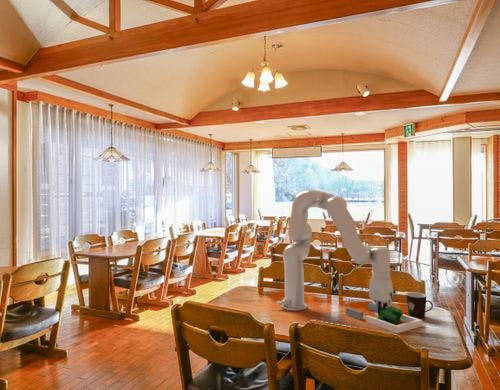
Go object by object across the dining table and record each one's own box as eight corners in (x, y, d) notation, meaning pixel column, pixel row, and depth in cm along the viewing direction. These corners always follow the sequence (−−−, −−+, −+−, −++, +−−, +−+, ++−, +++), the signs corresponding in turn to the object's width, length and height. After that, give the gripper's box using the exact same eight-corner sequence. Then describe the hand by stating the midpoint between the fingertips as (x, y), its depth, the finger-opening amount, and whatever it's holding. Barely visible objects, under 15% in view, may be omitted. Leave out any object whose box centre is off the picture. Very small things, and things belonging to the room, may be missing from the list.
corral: (397, 333, 146) (397, 327, 146) (366, 321, 160) (366, 316, 160) (422, 326, 154) (422, 320, 154) (390, 315, 168) (390, 310, 168)
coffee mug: (402, 314, 170) (402, 292, 170) (420, 313, 171) (420, 292, 171) (416, 322, 159) (415, 299, 159) (434, 321, 159) (434, 298, 159)
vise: (360, 320, 162) (360, 313, 163) (345, 314, 170) (345, 308, 170) (393, 311, 174) (393, 305, 174) (378, 306, 182) (378, 300, 182)
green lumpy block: (390, 335, 155) (391, 320, 151) (377, 328, 159) (378, 313, 155) (403, 319, 162) (405, 304, 158) (391, 313, 166) (392, 297, 162)
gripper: (362, 273, 168) (363, 313, 168) (389, 279, 155) (390, 322, 155) (373, 271, 172) (374, 310, 171) (401, 276, 159) (401, 319, 158)
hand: (381, 315), depth 163 cm, fingers closed
